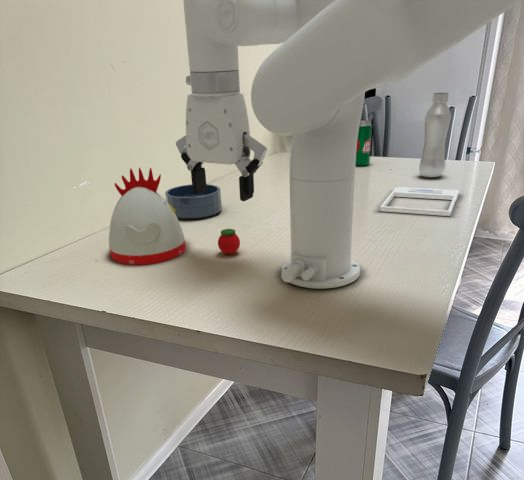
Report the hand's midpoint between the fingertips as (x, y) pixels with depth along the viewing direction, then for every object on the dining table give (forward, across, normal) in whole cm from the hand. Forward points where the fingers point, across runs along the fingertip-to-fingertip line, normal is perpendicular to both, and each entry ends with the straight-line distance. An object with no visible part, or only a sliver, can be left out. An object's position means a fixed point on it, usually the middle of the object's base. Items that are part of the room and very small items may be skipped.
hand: (222, 195), depth 88 cm
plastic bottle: (+10, +19, +70) cm, 73 cm away
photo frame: (+10, +23, +44) cm, 51 cm away
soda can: (+11, -4, +79) cm, 80 cm away
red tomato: (+10, +1, 0) cm, 10 cm away
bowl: (+11, -21, +19) cm, 30 cm away
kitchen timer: (+11, -14, -5) cm, 19 cm away
